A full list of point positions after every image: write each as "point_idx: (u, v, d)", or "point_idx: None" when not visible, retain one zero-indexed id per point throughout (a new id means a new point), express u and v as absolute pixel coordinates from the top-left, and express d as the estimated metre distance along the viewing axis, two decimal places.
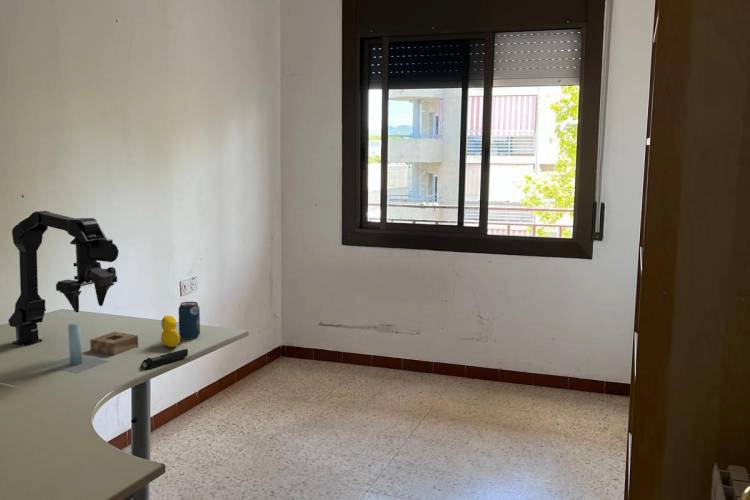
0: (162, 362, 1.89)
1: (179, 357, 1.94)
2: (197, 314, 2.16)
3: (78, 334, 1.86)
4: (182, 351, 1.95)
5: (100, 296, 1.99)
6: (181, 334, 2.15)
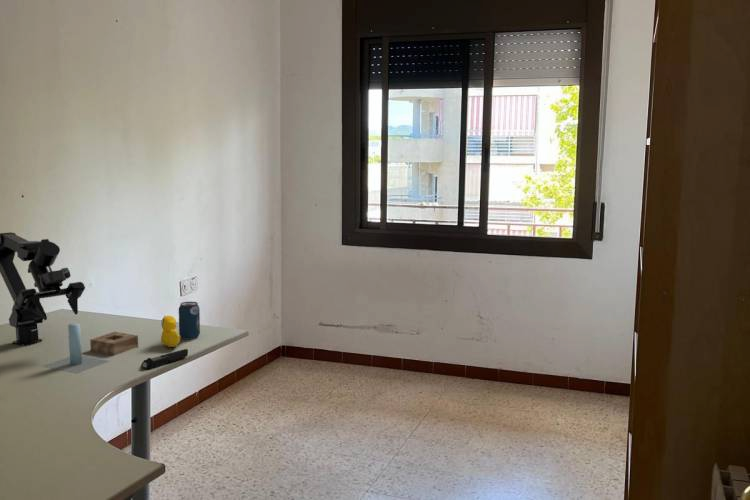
0: (162, 362, 1.89)
1: (179, 357, 1.94)
2: (197, 314, 2.16)
3: (78, 334, 1.86)
4: (182, 351, 1.96)
5: (73, 305, 1.96)
6: (181, 334, 2.15)
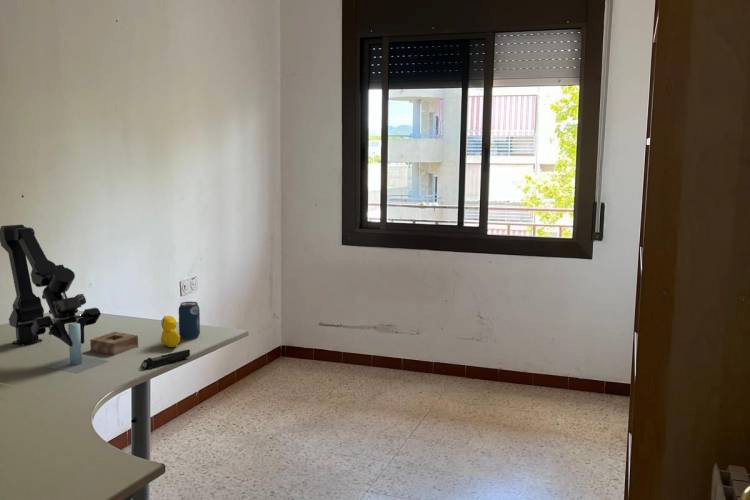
0: (163, 362, 1.89)
1: (180, 357, 1.93)
2: (197, 314, 2.16)
3: (78, 334, 1.86)
4: (184, 352, 1.95)
5: None
6: (181, 334, 2.15)
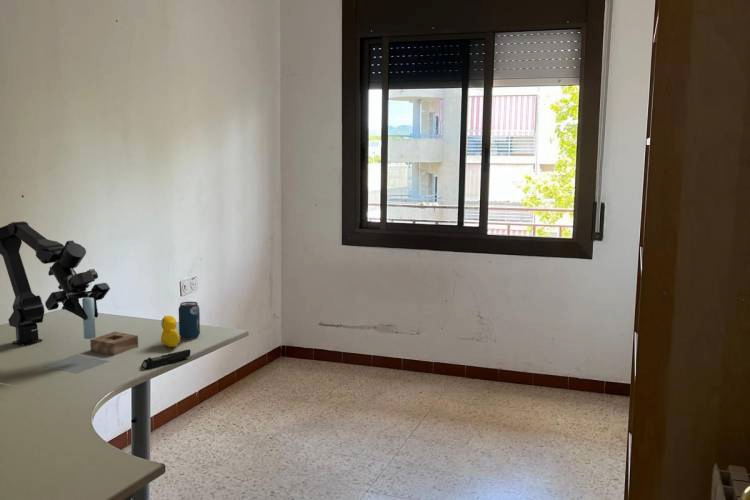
0: (163, 362, 1.89)
1: (181, 357, 1.93)
2: (197, 314, 2.16)
3: (92, 308, 1.90)
4: (184, 352, 1.95)
5: None
6: (181, 334, 2.15)
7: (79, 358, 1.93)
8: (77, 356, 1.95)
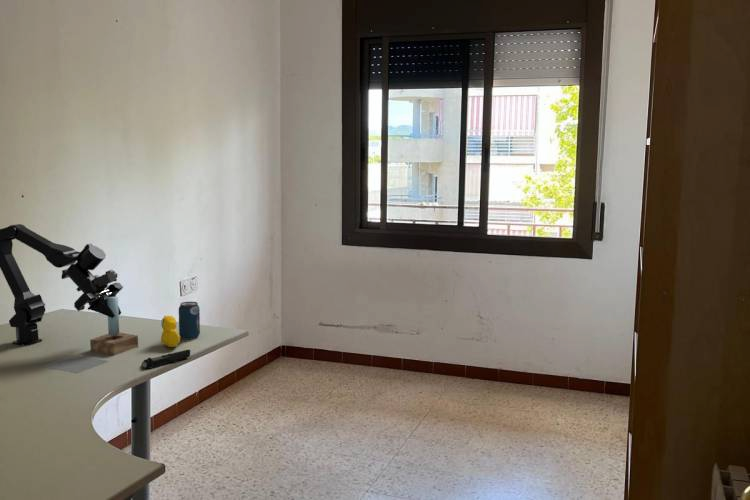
0: (163, 362, 1.89)
1: (181, 358, 1.93)
2: (197, 314, 2.16)
3: (117, 306, 2.01)
4: (184, 352, 1.95)
5: None
6: (181, 334, 2.15)
7: (79, 358, 1.93)
8: (77, 356, 1.95)
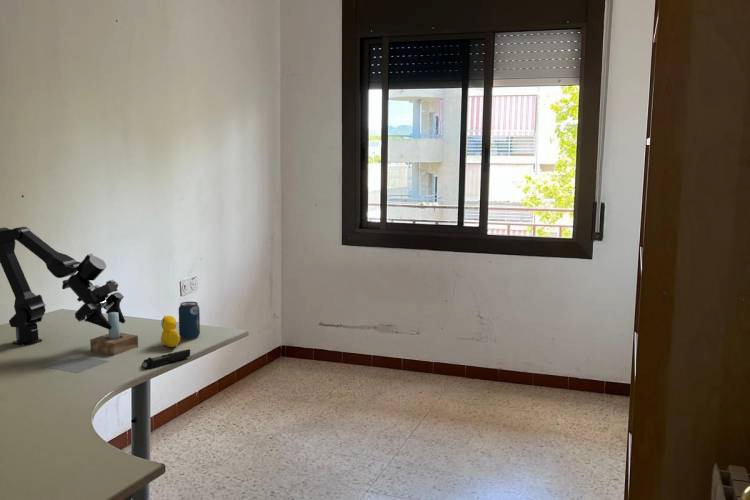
0: (163, 362, 1.89)
1: (181, 357, 1.93)
2: (197, 314, 2.16)
3: (118, 321, 2.02)
4: (184, 351, 1.95)
5: None
6: (181, 334, 2.15)
7: (79, 358, 1.93)
8: (77, 356, 1.95)
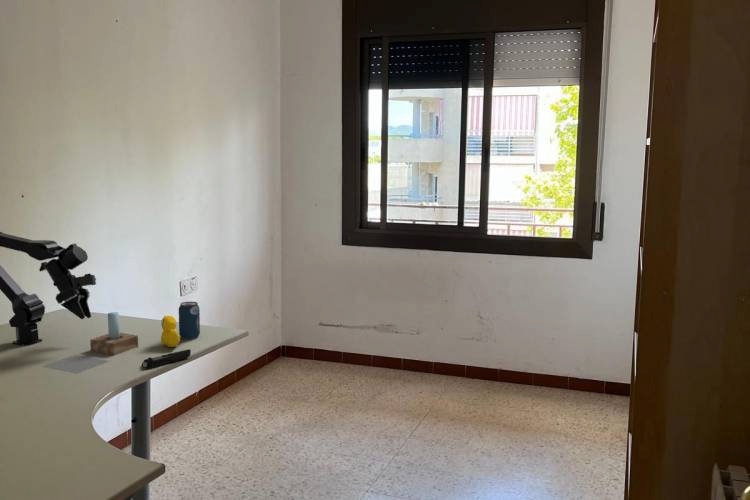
0: (163, 362, 1.89)
1: (181, 357, 1.94)
2: (197, 314, 2.16)
3: (118, 321, 2.02)
4: (184, 351, 1.95)
5: (84, 309, 2.08)
6: (181, 334, 2.15)
7: (79, 358, 1.93)
8: (77, 356, 1.95)
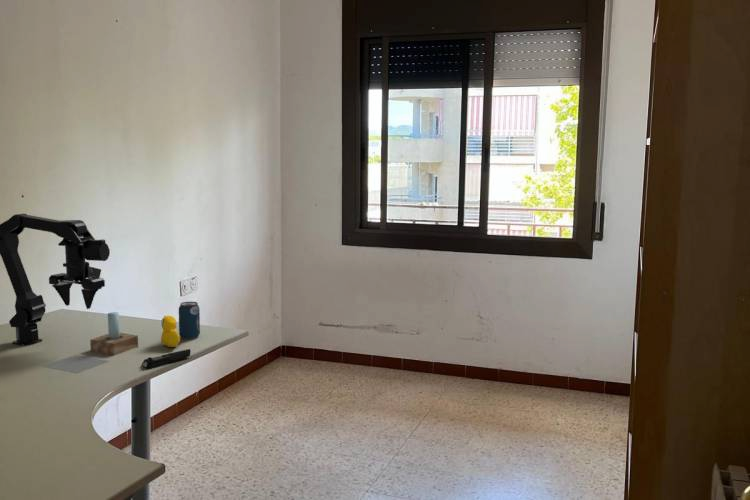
0: (163, 362, 1.89)
1: (181, 357, 1.94)
2: (197, 314, 2.16)
3: (118, 321, 2.02)
4: (184, 351, 1.95)
5: (67, 296, 2.06)
6: (181, 334, 2.15)
7: (79, 358, 1.93)
8: (77, 356, 1.95)
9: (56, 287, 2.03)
